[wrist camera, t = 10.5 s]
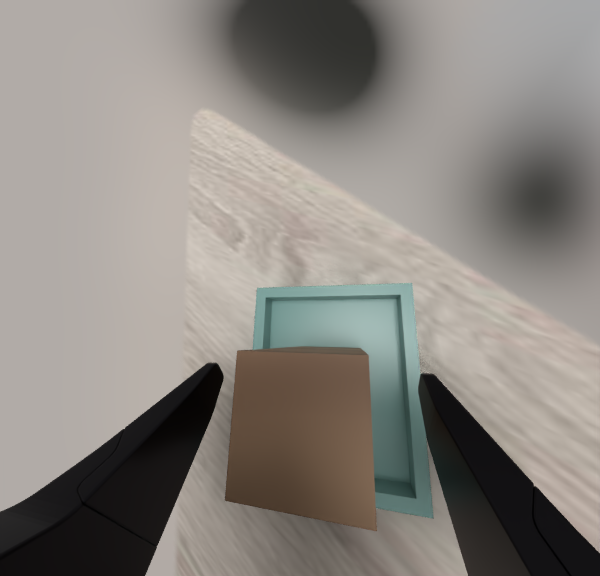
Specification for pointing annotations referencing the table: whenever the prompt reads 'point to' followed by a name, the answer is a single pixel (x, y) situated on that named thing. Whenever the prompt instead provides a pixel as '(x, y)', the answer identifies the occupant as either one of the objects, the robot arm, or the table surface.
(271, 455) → the tall brown wood pillar
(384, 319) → the tray
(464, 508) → the robot arm
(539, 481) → the table surface
